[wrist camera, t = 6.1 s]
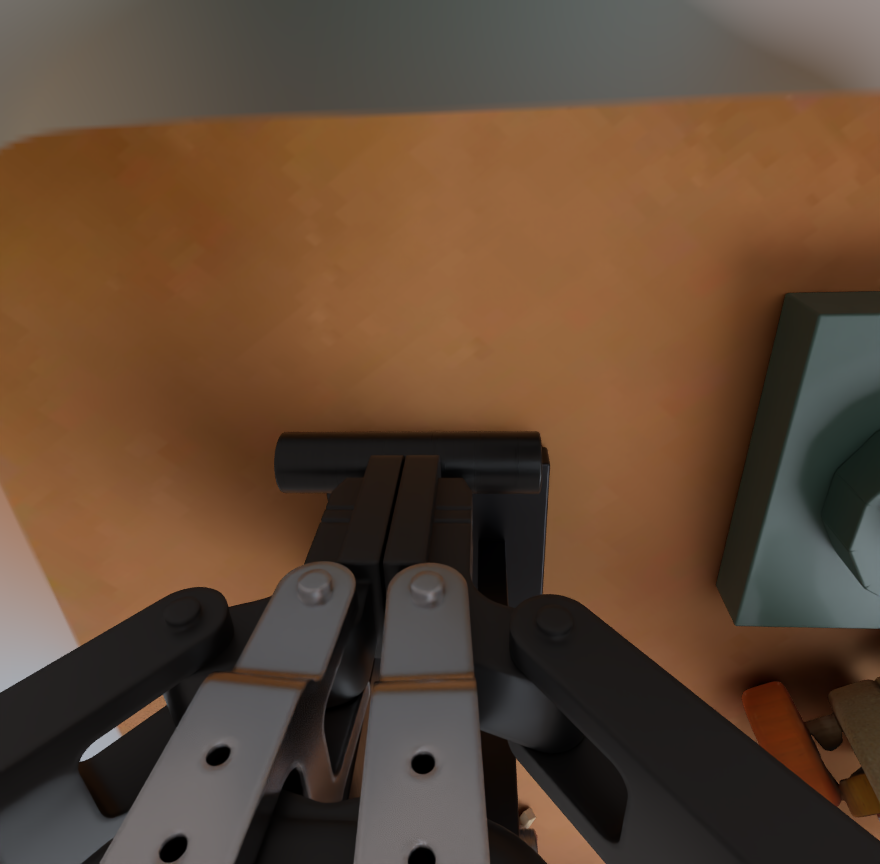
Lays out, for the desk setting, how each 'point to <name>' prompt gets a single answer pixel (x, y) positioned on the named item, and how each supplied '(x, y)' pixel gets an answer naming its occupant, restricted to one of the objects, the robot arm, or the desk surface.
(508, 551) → the bracket
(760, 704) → the toy helicopter
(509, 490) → the lever
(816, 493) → the button block
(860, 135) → the desk surface
